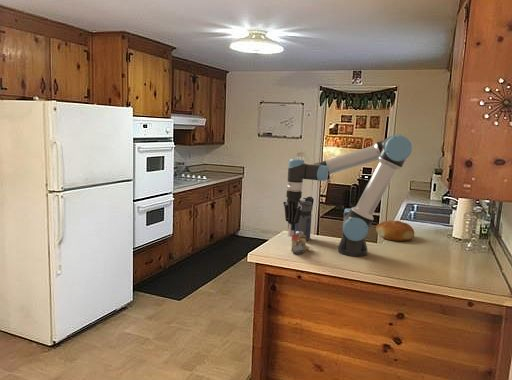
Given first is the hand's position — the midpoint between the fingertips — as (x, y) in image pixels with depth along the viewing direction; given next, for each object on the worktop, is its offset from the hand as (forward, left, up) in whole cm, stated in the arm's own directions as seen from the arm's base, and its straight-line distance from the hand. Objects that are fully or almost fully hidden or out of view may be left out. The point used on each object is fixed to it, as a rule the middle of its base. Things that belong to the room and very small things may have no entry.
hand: (290, 236), depth 210 cm
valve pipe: (-4, -7, -9) cm, 12 cm away
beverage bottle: (-5, -30, -9) cm, 32 cm away
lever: (-3, -3, -1) cm, 4 cm away
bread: (-60, -52, -9) cm, 80 cm away
